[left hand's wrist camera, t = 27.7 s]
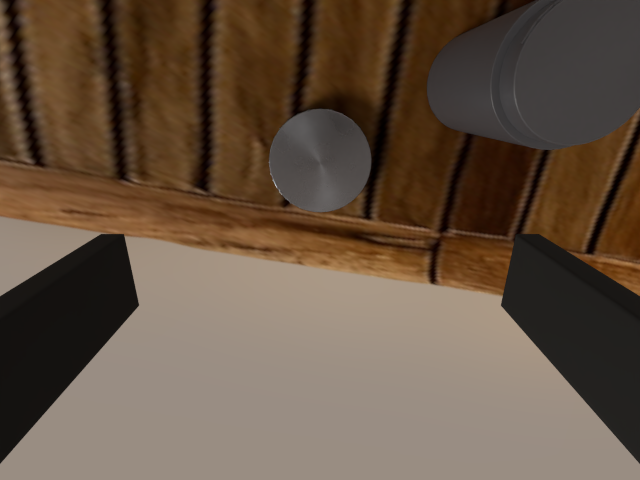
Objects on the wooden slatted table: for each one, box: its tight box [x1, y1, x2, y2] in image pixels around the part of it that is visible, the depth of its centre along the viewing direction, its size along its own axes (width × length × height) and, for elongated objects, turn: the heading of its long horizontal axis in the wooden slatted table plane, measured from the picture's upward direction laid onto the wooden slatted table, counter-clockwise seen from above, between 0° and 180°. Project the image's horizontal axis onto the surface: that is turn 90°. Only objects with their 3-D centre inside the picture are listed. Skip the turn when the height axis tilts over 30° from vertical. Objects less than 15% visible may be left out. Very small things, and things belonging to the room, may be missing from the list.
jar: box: [427, 0, 640, 150], centre depth 27 cm, size 9×9×16 cm
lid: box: [269, 108, 371, 212], centre depth 36 cm, size 10×10×2 cm
